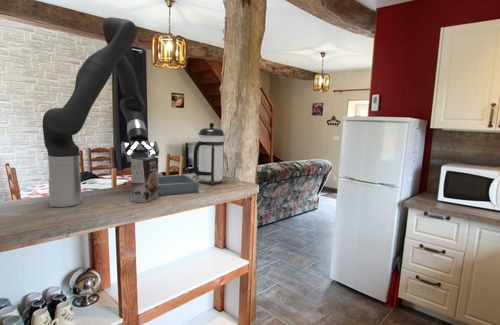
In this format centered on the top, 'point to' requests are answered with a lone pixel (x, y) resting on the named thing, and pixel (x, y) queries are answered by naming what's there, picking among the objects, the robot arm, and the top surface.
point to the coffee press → (209, 155)
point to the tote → (176, 185)
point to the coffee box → (144, 179)
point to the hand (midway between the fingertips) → (142, 163)
